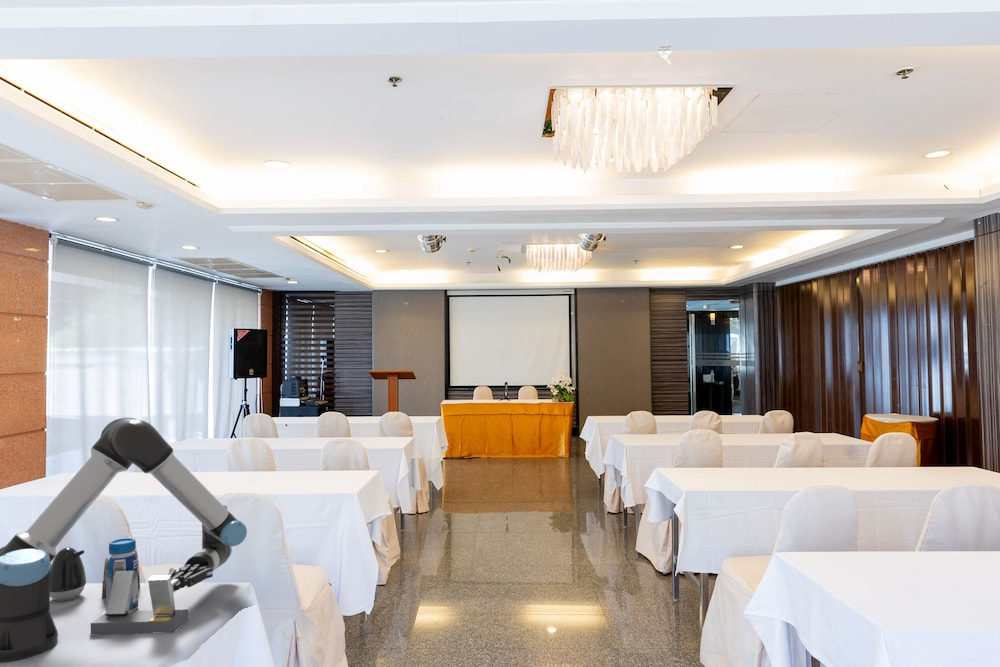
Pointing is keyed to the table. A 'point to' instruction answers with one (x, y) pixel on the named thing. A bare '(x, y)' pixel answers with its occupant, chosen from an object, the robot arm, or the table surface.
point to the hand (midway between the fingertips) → (164, 592)
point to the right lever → (161, 595)
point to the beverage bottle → (122, 566)
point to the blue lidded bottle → (105, 579)
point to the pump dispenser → (67, 575)
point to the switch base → (139, 623)
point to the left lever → (121, 593)
